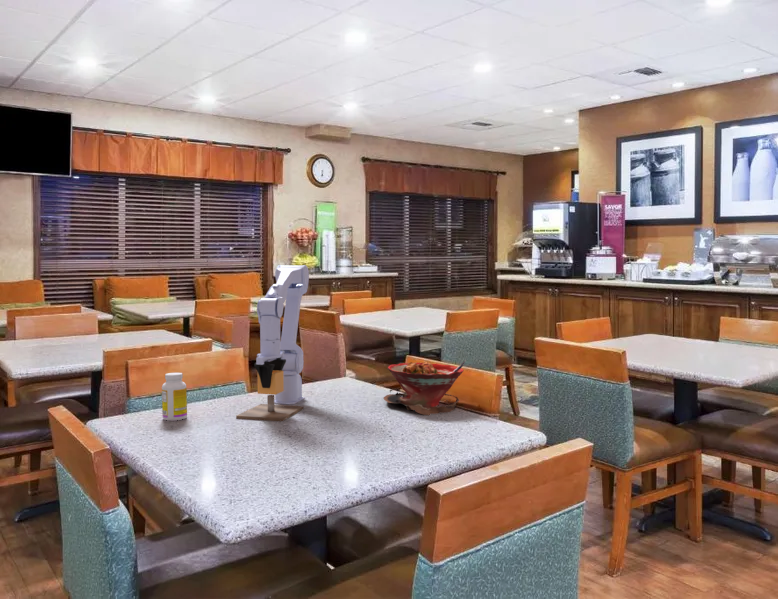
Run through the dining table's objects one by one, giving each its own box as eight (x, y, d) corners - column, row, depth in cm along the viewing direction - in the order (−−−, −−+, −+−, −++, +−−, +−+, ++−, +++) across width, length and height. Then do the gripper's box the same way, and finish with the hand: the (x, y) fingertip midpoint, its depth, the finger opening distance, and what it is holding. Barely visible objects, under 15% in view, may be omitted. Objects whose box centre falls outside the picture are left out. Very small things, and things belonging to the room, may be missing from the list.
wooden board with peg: (261, 407, 201) (260, 389, 201) (303, 409, 198) (303, 391, 198) (236, 419, 186) (235, 399, 186) (282, 422, 182) (281, 402, 182)
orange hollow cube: (266, 390, 195) (265, 369, 195) (283, 390, 193) (283, 370, 193) (257, 393, 189) (257, 372, 189) (275, 394, 188) (275, 373, 188)
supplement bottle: (190, 416, 189) (190, 372, 189) (181, 421, 183) (180, 376, 182) (168, 415, 190) (167, 371, 189) (158, 421, 183) (157, 375, 183)
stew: (487, 410, 198) (487, 357, 197) (426, 421, 183) (426, 364, 183) (427, 395, 220) (427, 347, 219) (368, 404, 206) (368, 353, 205)
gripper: (268, 336, 199) (268, 380, 199) (246, 341, 185) (246, 389, 185) (290, 336, 197) (290, 381, 198) (269, 342, 183) (269, 390, 184)
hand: (270, 385), depth 191 cm, fingers closed on orange hollow cube, 6 cm apart
